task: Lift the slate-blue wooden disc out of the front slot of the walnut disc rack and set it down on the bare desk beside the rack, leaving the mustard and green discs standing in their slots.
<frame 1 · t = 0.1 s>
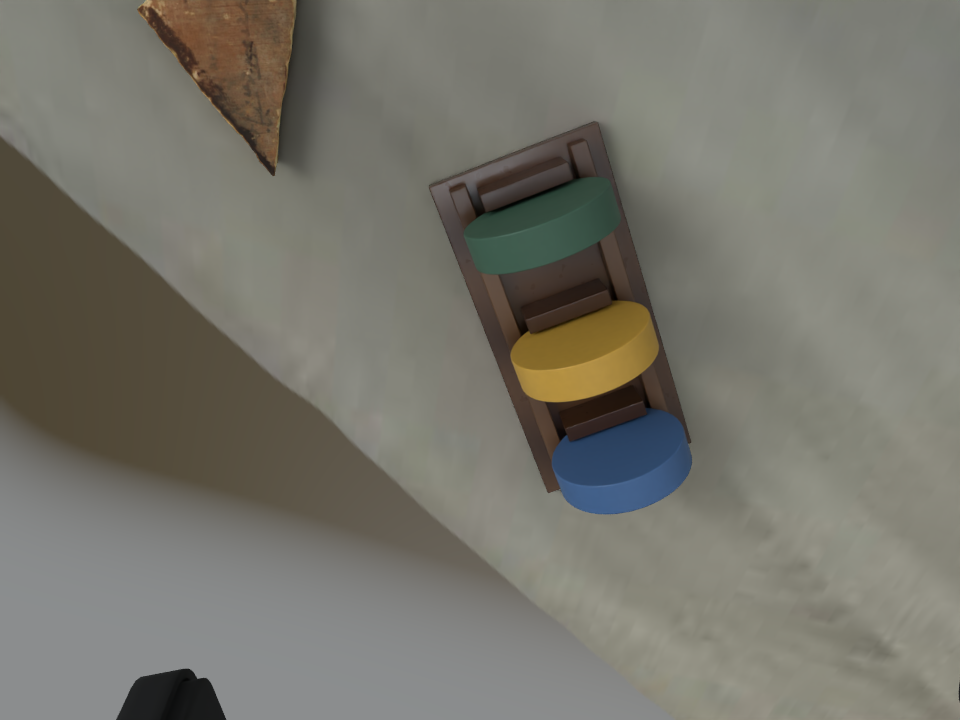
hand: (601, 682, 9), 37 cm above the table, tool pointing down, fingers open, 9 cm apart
blue disc: (605, 427, 49), point 1 cm above the table, touching disc rack
shard: (258, 34, 40), on the table
disc rack: (568, 321, 47), on the table
mustard disc: (570, 325, 46), point 1 cm above the table, touching disc rack
green disc: (531, 209, 43), point 1 cm above the table, touching disc rack
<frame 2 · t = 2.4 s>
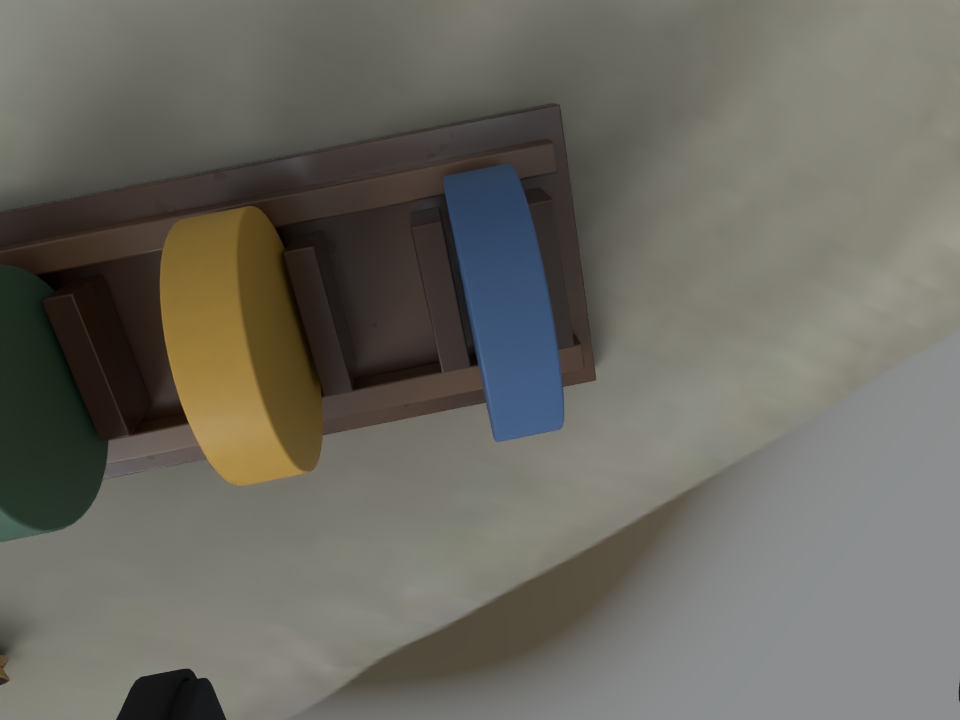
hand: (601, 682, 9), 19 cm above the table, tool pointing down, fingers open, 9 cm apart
blue disc: (488, 270, 26), point 1 cm above the table, touching disc rack
disc rack: (280, 305, 27), on the table
mustard disc: (277, 312, 26), point 1 cm above the table, touching disc rack
green disc: (64, 354, 26), point 1 cm above the table, touching disc rack
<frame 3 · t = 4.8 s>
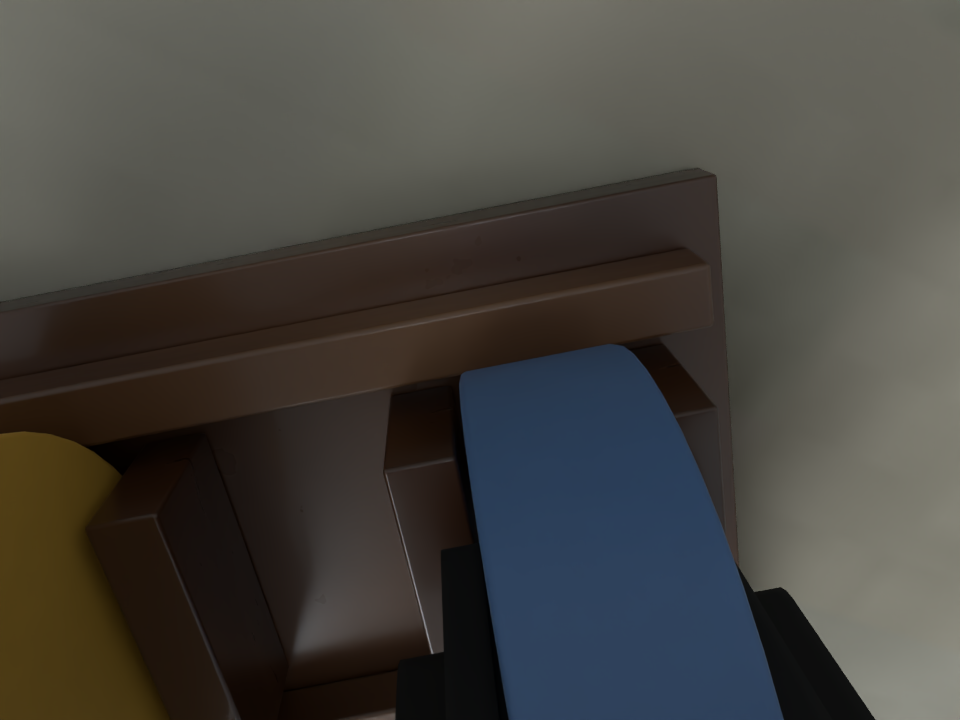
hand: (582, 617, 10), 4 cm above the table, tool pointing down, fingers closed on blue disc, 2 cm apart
blue disc: (549, 500, 13), point 1 cm above the table, touching disc rack, gripper
disc rack: (139, 553, 14), on the table
mustard disc: (123, 582, 13), point 1 cm above the table, tilted 5°, touching disc rack
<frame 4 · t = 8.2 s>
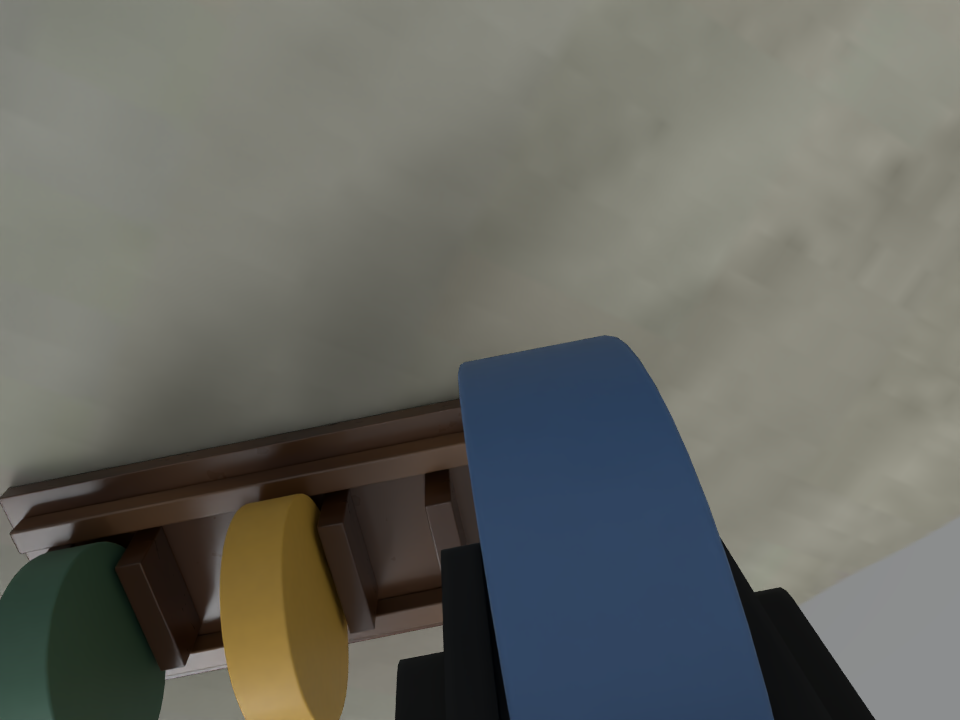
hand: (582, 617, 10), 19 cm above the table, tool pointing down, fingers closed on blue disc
blue disc: (546, 490, 13), point 15 cm above the table, touching gripper
disc rack: (312, 539, 31), on the table
mustard disc: (309, 551, 31), point 1 cm above the table, tilted 5°, touching disc rack
green disc: (128, 587, 31), point 1 cm above the table, touching disc rack
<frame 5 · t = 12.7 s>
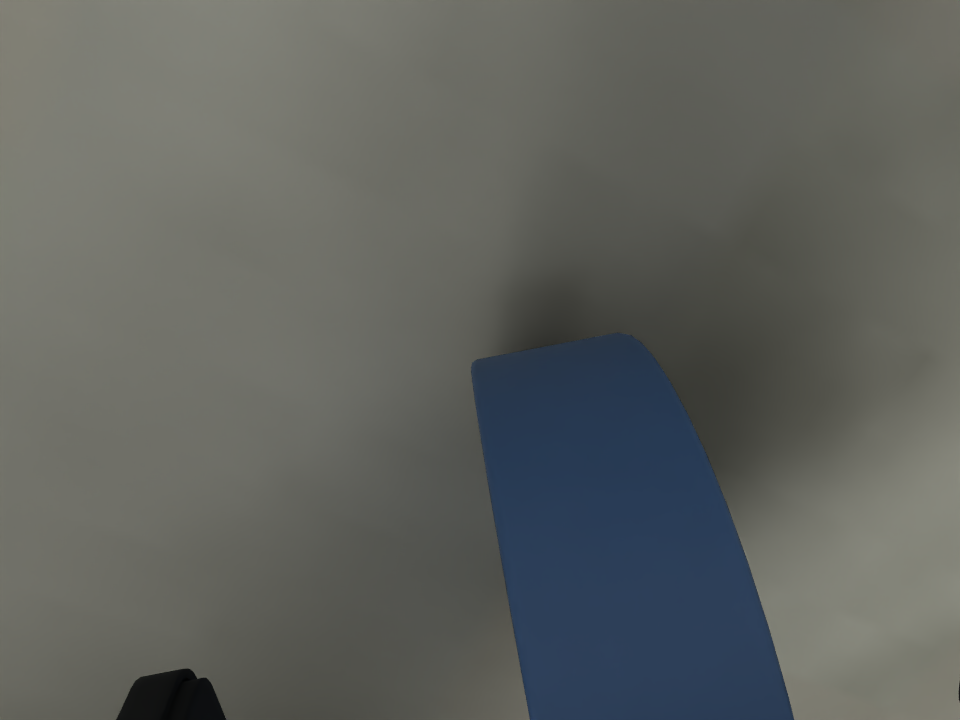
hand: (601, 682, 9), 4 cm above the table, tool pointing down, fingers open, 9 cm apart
blue disc: (555, 485, 13), on the table
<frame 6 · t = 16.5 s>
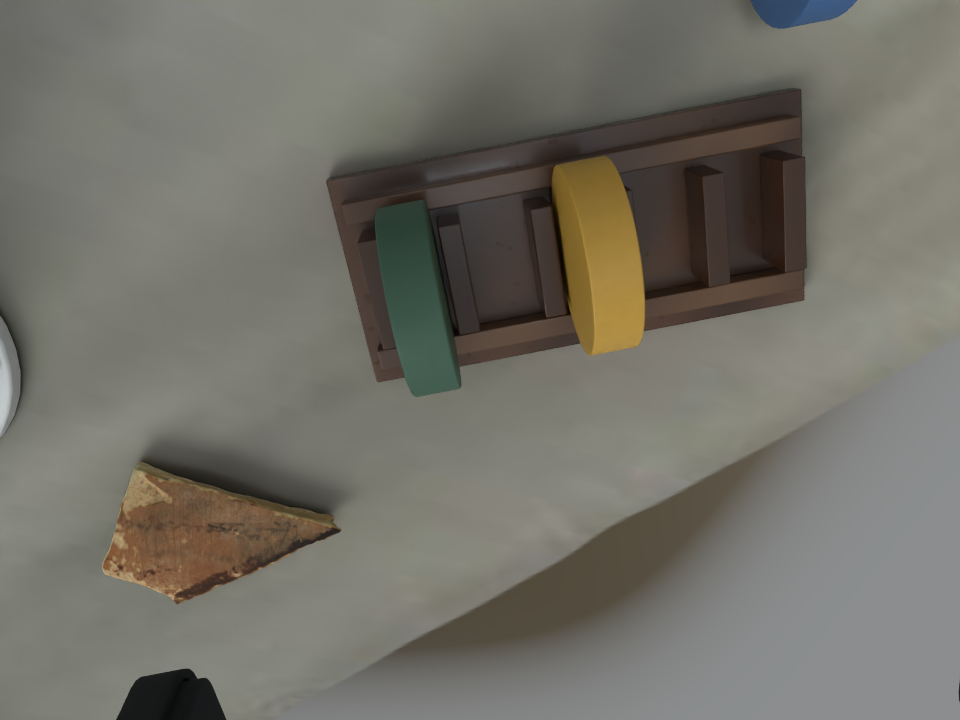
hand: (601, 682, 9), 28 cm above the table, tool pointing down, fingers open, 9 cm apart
shard: (210, 504, 40), on the table
disc rack: (574, 239, 36), on the table
mustard disc: (577, 243, 35), point 1 cm above the table, tilted 5°, touching disc rack
green disc: (420, 273, 35), point 1 cm above the table, touching disc rack
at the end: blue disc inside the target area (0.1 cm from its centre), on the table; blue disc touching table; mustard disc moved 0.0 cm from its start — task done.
